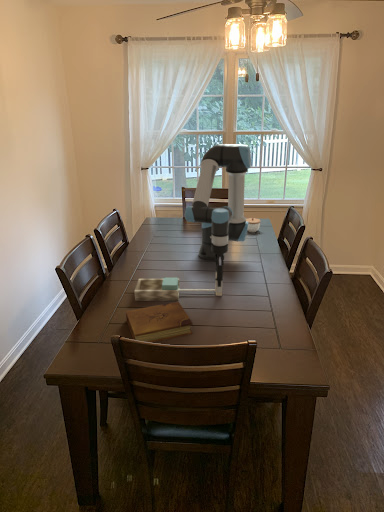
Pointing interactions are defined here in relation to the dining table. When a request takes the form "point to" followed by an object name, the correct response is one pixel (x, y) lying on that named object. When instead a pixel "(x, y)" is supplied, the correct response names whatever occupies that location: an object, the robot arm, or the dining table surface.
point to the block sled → (173, 285)
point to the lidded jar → (253, 224)
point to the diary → (158, 322)
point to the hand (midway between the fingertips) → (218, 288)
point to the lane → (154, 291)
